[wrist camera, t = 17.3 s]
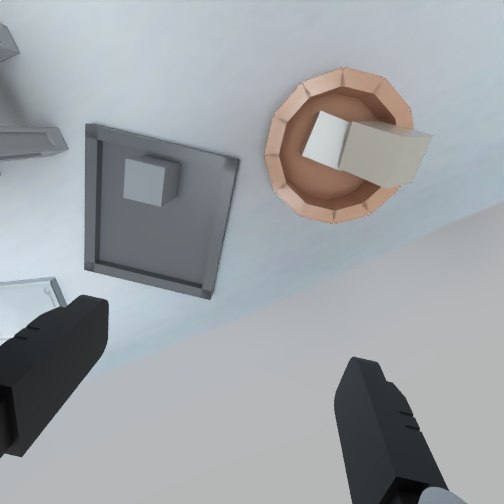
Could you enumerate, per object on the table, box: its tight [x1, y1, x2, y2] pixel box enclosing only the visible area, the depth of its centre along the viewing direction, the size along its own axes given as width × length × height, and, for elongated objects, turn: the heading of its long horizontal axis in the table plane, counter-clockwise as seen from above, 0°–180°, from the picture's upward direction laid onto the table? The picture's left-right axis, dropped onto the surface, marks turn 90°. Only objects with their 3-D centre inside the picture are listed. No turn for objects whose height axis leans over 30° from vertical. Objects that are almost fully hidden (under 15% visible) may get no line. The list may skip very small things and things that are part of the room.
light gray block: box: [123, 155, 180, 207], centre depth 29 cm, size 4×4×4 cm
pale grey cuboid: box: [299, 111, 352, 171], centre depth 26 cm, size 4×4×4 cm
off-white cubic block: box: [339, 121, 432, 189], centre depth 23 cm, size 4×4×4 cm
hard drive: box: [0, 277, 67, 340], centre depth 40 cm, size 2×8×12 cm
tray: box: [84, 124, 239, 300], centre depth 33 cm, size 16×15×1 cm
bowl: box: [264, 67, 413, 224], centre depth 27 cm, size 12×12×5 cm
